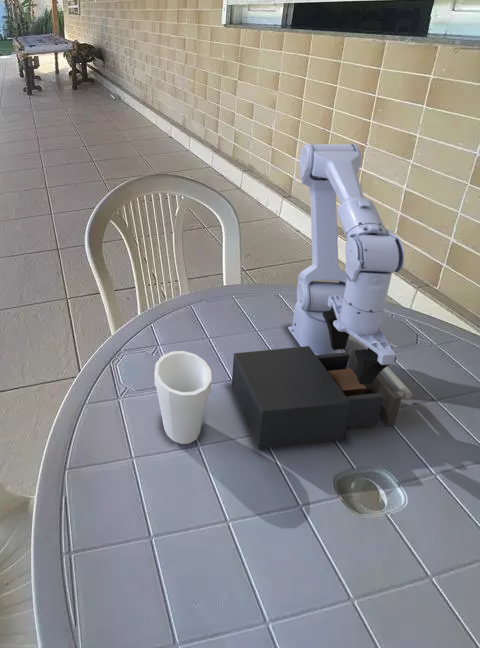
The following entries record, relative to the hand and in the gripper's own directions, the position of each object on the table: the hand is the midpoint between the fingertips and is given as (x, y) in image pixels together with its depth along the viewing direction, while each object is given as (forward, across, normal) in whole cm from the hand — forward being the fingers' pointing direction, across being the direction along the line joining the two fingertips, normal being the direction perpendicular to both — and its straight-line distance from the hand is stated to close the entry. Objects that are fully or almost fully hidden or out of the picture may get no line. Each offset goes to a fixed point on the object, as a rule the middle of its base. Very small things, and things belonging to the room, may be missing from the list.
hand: (350, 364), depth 74 cm
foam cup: (+10, +1, -30) cm, 32 cm away
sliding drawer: (+9, 0, +1) cm, 9 cm away
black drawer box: (+10, 0, -11) cm, 15 cm away
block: (+8, 0, 0) cm, 8 cm away
